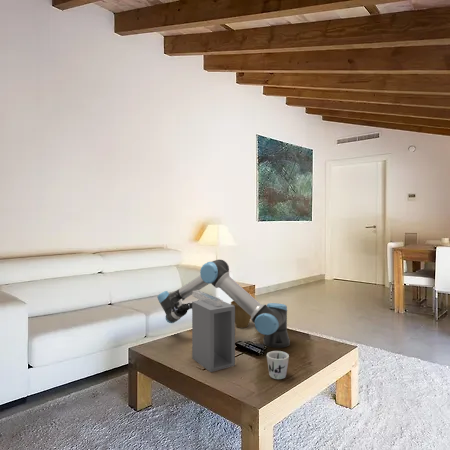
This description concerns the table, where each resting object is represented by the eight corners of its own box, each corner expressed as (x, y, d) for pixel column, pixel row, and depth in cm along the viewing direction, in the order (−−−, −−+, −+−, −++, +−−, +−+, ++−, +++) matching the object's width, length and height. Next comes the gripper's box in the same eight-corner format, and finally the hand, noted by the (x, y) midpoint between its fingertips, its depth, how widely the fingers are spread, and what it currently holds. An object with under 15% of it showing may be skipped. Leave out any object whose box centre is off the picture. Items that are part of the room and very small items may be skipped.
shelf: (192, 358, 197) (192, 301, 195) (215, 353, 204) (215, 298, 202) (210, 372, 180) (210, 310, 179) (234, 365, 188) (234, 306, 186)
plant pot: (257, 327, 247) (257, 303, 247) (238, 331, 240) (238, 306, 239) (244, 321, 260) (244, 298, 259) (226, 325, 252) (226, 301, 251)
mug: (264, 379, 173) (264, 357, 173) (270, 366, 188) (270, 346, 187) (287, 382, 170) (287, 360, 170) (291, 368, 184) (291, 348, 184)
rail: (192, 296, 206) (192, 290, 206) (198, 295, 208) (198, 290, 208) (216, 307, 184) (216, 301, 184) (222, 306, 186) (222, 300, 186)
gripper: (199, 313, 230) (214, 303, 214) (161, 320, 217) (173, 309, 201) (196, 302, 233) (211, 290, 217) (158, 307, 220) (170, 296, 204)
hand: (193, 299), depth 209 cm, fingers open, 13 cm apart
